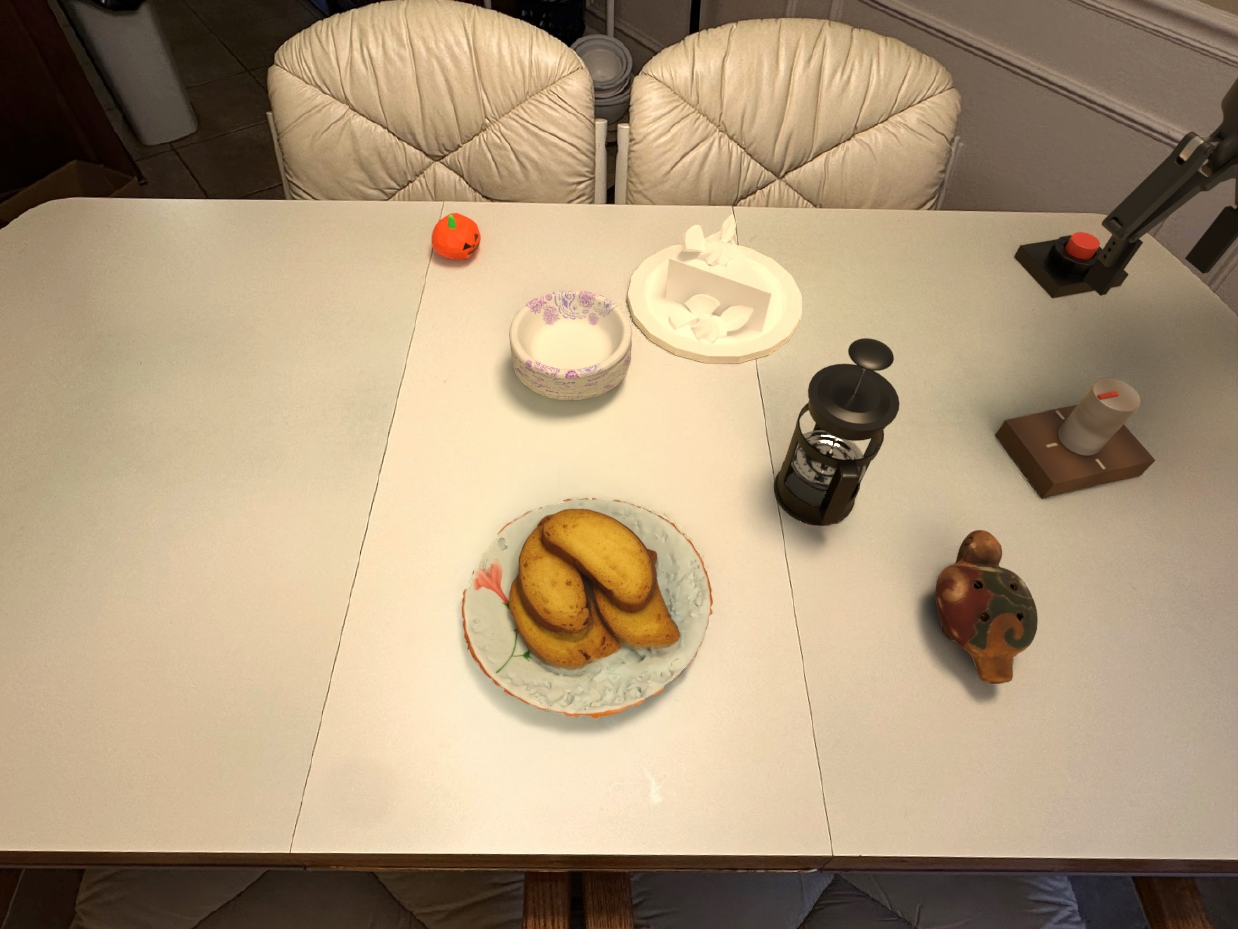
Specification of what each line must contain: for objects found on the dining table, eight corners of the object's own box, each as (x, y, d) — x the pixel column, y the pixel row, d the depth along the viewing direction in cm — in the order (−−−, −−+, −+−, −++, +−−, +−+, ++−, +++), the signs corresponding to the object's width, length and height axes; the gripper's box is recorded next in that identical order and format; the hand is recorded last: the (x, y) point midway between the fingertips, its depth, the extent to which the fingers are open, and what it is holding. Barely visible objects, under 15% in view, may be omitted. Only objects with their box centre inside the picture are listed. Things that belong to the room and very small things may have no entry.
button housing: (1079, 245, 117) (1093, 224, 114) (1120, 286, 111) (1136, 264, 108) (1013, 256, 115) (1025, 234, 112) (1052, 298, 109) (1065, 276, 106)
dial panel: (1089, 414, 96) (1102, 398, 93) (1141, 475, 90) (1156, 459, 87) (994, 435, 93) (1005, 418, 91) (1041, 498, 87) (1054, 483, 85)
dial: (1084, 420, 91) (1122, 372, 84) (1110, 451, 88) (1152, 404, 81) (1049, 427, 90) (1085, 380, 83) (1074, 459, 87) (1113, 413, 81)
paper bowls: (531, 429, 92) (526, 385, 85) (502, 347, 100) (496, 301, 94) (646, 401, 95) (650, 357, 89) (609, 324, 104) (610, 278, 97)
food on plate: (435, 703, 71) (422, 677, 66) (498, 493, 86) (492, 458, 81) (700, 744, 69) (708, 721, 64) (717, 522, 84) (725, 488, 79)
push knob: (1081, 241, 112) (1088, 230, 110) (1098, 258, 110) (1106, 246, 108) (1058, 245, 111) (1065, 233, 110) (1075, 262, 109) (1082, 250, 107)
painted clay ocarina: (988, 557, 82) (1027, 522, 76) (1032, 694, 74) (1080, 669, 67) (903, 555, 82) (935, 520, 75) (938, 694, 73) (977, 669, 67)
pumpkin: (483, 234, 115) (478, 198, 110) (480, 267, 110) (475, 231, 105) (436, 235, 115) (429, 198, 109) (431, 268, 110) (423, 231, 105)
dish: (592, 294, 107) (592, 227, 98) (714, 228, 117) (724, 162, 108) (713, 391, 96) (725, 326, 87) (836, 309, 107) (858, 243, 98)
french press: (768, 455, 90) (812, 310, 72) (845, 456, 90) (909, 312, 72) (781, 538, 83) (833, 401, 65) (864, 539, 83) (940, 403, 65)
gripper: (1368, 39, 67) (1211, 236, 84) (1147, 70, 62) (1027, 273, 79) (1444, 78, 63) (1263, 278, 80) (1215, 115, 58) (1073, 320, 75)
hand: (1146, 276), depth 80 cm, fingers open, 13 cm apart
